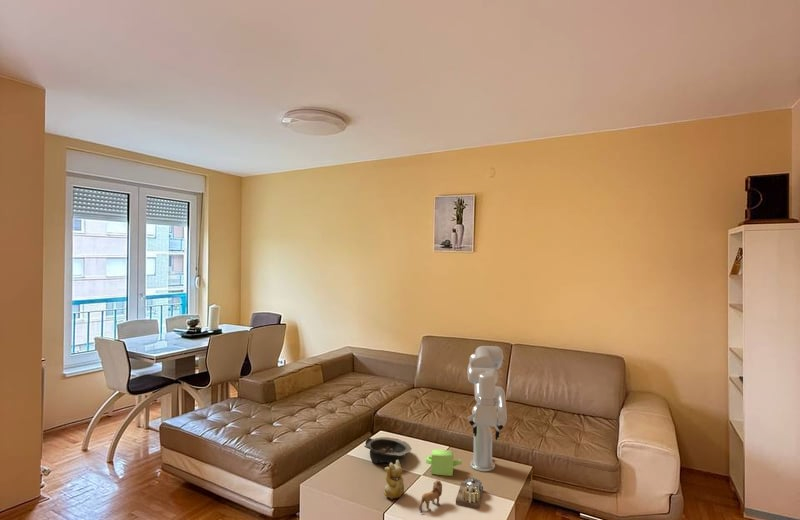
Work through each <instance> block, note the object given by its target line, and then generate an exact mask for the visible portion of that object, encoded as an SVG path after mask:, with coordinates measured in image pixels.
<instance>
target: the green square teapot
mask: <svg viewBox="0 0 800 520" xmlns="http://www.w3.org/2000/svg"><path fill="white" fill-rule="evenodd" d="M425 464H426V465H427V464H428V465H430V466H431V467H430V473H431V475H439V476H449V477H450V476H454V475H453V473H454V467H455V466H459V465H462V464H463V461H462V460H461V459H456V460H454V451H453V450H447V449H436V448H433V449H432V450H431V455H427V456H426V458H425Z"/></svg>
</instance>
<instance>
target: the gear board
mask: <svg viewBox="0 0 800 520" xmlns="http://www.w3.org/2000/svg"><path fill="white" fill-rule="evenodd" d="M464 487H465V482H461V483H460V486H459V489H458V493H457V495H456V498H455V505H457V506H461V507H466V508H467V507H468V508H472V509H473V508H474V509H477V508H479V509H480V506H479V505H481V502H482V496H483V493H482V492H484V486H483V485H482V489H481V491H480V499H479V500H478V502H475V503H473V502H471V503H469V502H468V501H467V502H466V501H465V499H463V497H462V491H463V488H464ZM469 492H471V493H473V488H469Z"/></svg>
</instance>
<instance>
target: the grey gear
mask: <svg viewBox="0 0 800 520" xmlns="http://www.w3.org/2000/svg"><path fill="white" fill-rule="evenodd" d="M464 483H465V487H467V486H473V487H477V489H479V491H481V489H482V486H483V485H482V481H481V480H480V479H478V478H474V477H471V478H470V477H468V478H467V479H465V480H464Z"/></svg>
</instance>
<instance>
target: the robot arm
mask: <svg viewBox="0 0 800 520" xmlns="http://www.w3.org/2000/svg"><path fill="white" fill-rule="evenodd" d="M503 361H504V352H503V349H502V348H501V347H499V346H496V345H480V346H478V347H476V349H475V351H474V353H472V354H471V355H469V361H468V362H469V363H468V365H467V380H468V382H469V383H470V384H474V387H473V388H474V400H475V401H476V402H475V403H476V404H475V405H474V406H473V407H472V410H471V414H470V415H468V416H467V418H466V419H467V420H468V422H469V424H470V425H471V426H472V429H473V430H472V434H473V457H472V458H473V459H471V460H470V462H469V463H470V467H471V468H472V469H473V470H476V471H479V472H492V471H493V470H495V468H496V464H495V462H494V461H493V431H492V429H491V428H494V430H495V441H497V440H498V439H499V438H500V431H501V430H503V429H504V427H505V425H506V423H507V419H508V416H507V415H508V411H507V402H506V401H507V400H506V393H505V390H504V388H503V387H501V386H499V385H498V386H497V385H496V384H497V382H498V381H499V372H498V371H497V370H499V369H501V368H502V364H503Z"/></svg>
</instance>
